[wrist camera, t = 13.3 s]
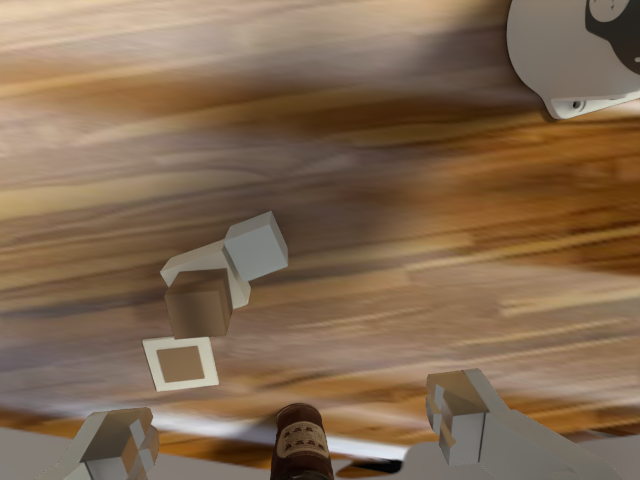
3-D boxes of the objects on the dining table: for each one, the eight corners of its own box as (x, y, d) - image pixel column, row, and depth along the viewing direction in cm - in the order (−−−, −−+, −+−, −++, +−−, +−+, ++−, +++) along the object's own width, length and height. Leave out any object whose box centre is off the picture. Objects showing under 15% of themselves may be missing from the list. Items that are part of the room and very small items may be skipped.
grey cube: (271, 210, 41) (269, 224, 36) (288, 248, 42) (288, 266, 38) (230, 225, 41) (223, 241, 36) (248, 263, 43) (244, 282, 38)
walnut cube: (226, 268, 39) (218, 290, 34) (232, 308, 40) (225, 335, 36) (179, 271, 38) (164, 295, 34) (187, 312, 40) (174, 339, 35)
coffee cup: (270, 394, 50) (265, 487, 38) (330, 394, 51) (343, 486, 39) (268, 440, 53) (262, 541, 41) (324, 440, 54) (335, 538, 42)
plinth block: (227, 236, 42) (221, 250, 38) (251, 287, 44) (247, 304, 40) (171, 256, 42) (159, 272, 38) (198, 305, 44) (189, 324, 41)
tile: (208, 332, 45) (207, 335, 45) (218, 382, 48) (217, 386, 48) (143, 339, 45) (141, 342, 44) (158, 389, 48) (156, 393, 47)
